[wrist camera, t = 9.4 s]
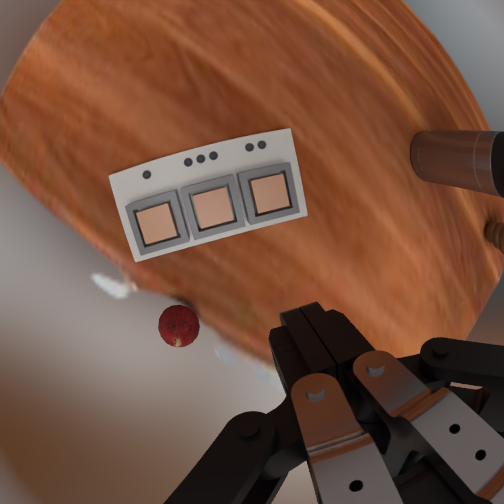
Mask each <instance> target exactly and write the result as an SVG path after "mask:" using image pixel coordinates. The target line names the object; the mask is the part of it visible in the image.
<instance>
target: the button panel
mask: <svg viewBox="0 0 504 504" xmlns="http://www.w3.org/2000/svg"><path fill="white" fill-rule="evenodd" d="M277 173H281V174H283V175H284V180H285V185H286V190H287V195H288V200H289V205H290V206H286V207H282V208H278V209H274V210H270V211H266V212H262V213H257V212H256V211H255V208H254V204H253V199H252V195H251V191H250V186H249V182H248V180H251V179H255V178H260V177H264V176H268V175H273V174H277ZM109 179H110V183H111V187H112V190H113V194H114V198H115V201H116V205H117V208H118V211H119V215H120V218H121V221H122V224H123V227H124V231H125V234H126V237H127V240H128V243H129V246H130V248H131V251H132V254H133V257H134V260H135V262H138V261H142V260H145V259H149V258H152V257H156V256H159V255H163V254H166V253H170V252H173V251H177V250H180V249H184V248H188V247H191V246H195V245H198V244H202V243H206V242H209V241H213V240H217V239H220V238H224V237H228V236H231V235H235V234H239V233H243V232H246V231H250V230H254V229H258V228H261V227H265V226H269V225H273V224H277V223H281V222H284V221H288V220H292V219H296V218H300V217H304V216H308V214H307V209H306V203H305V198H304V192H303V187H302V182H301V177H300V172H299V167H298V162H297V157H296V152H295V147H294V143H293V138H292V134H291V129H290V128H288V129H282V130H276V131H271V132H265V133H260V134H255V135H250V136H245V137H240V138H236V139H231V140H227V141H222V142H218V143H214V144H210V145H206V146H202V147H198V148H194V149H191V150H187V151H183V152H180V153H176V154H173V155H169V156H166V157H163V158H159V159H156V160H153V161H150V162H147V163H144V164H141V165H138V166H135V167H132V168H129V169H126V170H123V171H120V172H118V173H115V174H112V175H109ZM223 186H225V187H226V190H227V194H228V198H229V202H230V206H231V210H232V214H233V218H234V220H231V221H228V222H224V223H220V224H217V225H213V226H209V227H206V228H202V229H201V226H200V223H199V219H198V215H197V212H196V208H195V204H194V201H193V197H192V196H193V194H196V193H200V192H204V191H207V190H211V189H215V188H219V187H223ZM168 201H170V205H171V208H172V212H173V215H174V219H175V222H176V226H177V229H178V234H177V236H174V237H170V238H167V239H163V240H160V241H156V242H153V243H150V244H146V243H145V240H144V237H143V233H142V230H141V227H140V224H139V221H138V217H137V214H136V213H137V212H138V211H139V210H142V209H145V208H149V207H152V206H155V205H158V204H162V203H165V202H168Z"/></svg>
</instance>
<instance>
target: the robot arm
mask: <svg viewBox="0 0 504 504" xmlns="http://www.w3.org/2000/svg"><path fill="white" fill-rule="evenodd" d="M411 162H412V165H413V168H414V170H415V172H416V174H417V175H418V176H419V177H420V178H421V179H422V180H424V181H427V182H433V183H438V184H443V185H449V186H454V187H459V188H463V189H468V190H473V191H477V192H482V193H486V194H490V195H495V196H499V197H502V198H504V132H500V131H468V130H450V131H422V132H420V133H418V134H417V135H416V136H415V138H414V139H413V142H412V145H411ZM280 320H281V325H282V326H280V327H277V328H274V329H271V331H270V335H269V343H270V347H271V351H272V355H273V359H274V363H275V367H276V370H277V372H278V375H279V377H280V380H281V383H282V385H283V388H284V390H285V393H286V398H285V399H284V401H283V402H282V403H281V404H280V405H279V406H278V407H277V408H275V409H274V410H272V411H270V412H269V413H267V414H265V413H262V412H257V411H250V412H244V413H241V414H239V415H237V416H235V417H234V418H232V419H231V420H230V421H229V422H228V423H227V424H226V426H225V427H224V429H223V430H222V431H221V433H220V434H219V435H218V437H217V438H216V439H215V441H214V442H213V443H212V445H211V446H210V447H209V449H208V450H207V451H206V452H205V454H204V455H203V456H202V458H201V459H200V460H199V461H198V463H197V464H196V465H195V467H194V468H193V469H192V470H191V471H190V473H189V474H188V475H187V477H186V478H185V479H184V480H183V481H182V482H181V484H180V485H179V486H178V487H177V488H176V490H175V491H174V492H173V493H172V494H171V495H170V496H169V498H168V499H167V500H166V501H165V502H164V503H163V504H271V503H272V501H273V499H274V498H275V496H276V494H277V493H278V491H279V489H280V487H281V486H282V484H283V482H284V480H285V478H286V477H287V475H288V472H289V471H290V470H292V469H294V468H295V467H297V466H298V465H300V464H301V463H303V462H304V461H307V465H308V468H309V472H310V476H311V479H312V482H313V486H314V490H315V495H316V498H317V502H318V504H504V346H501V345H493V344H485V343H478V342H470V341H463V340H456V339H450V338H443V337H437V338H432V339H430V340H428V341H426V342H425V343H424V344H423V345H422V347H421V351H420V354H416V355H412V356H407V357H402V358H395V357H394V356H393V355H391V354H390V353H388V352H385V351H379V350H375V349H374V348H373V346H372V345H371V344H370V343H369V342H368V341H367V340H366V339H365V337H364V336H363V335H362V334H361V333H360V332H359V331H358V330H357V329H356V328H355V326H354V325H353V324H352V323H350V321H349V320H348V318H347V317H346V316H345V315H344V314H343V313H340V312H338V311H336V310H334V309H332V310H329V311H326V312H325V310H324V309H323V308H322V307H321V306H320V304H319V303H318V302H314V303H311V304H307V305H304V306H301V307H299V308H295V309H292V310H289V311H285V312H282V313H280ZM451 382H455V383H461V384H468V385H474V386H482V388H481V389H477V390H474V389H467V388H461V387H455V386H450V384H451ZM499 431H500V432H499Z"/></svg>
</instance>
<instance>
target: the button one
mask: <svg viewBox="0 0 504 504" xmlns="http://www.w3.org/2000/svg"><path fill="white" fill-rule="evenodd" d="M136 214H137V217H138V221H139V224H140V227H141V230H142V233H143V237H144V240H145V243H146V244H150V243H153V242H156V241H160V240H163V239H167V238H170V237H174V236H177V234H178V229H177V226H176V222H175V219H174V215H173V212H172V208H171V205H170V201H168V202H165V203H162V204H158V205H155V206H152V207H149V208H145V209H142V210H139V211H138V212H137V213H136Z"/></svg>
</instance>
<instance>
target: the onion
mask: <svg viewBox="0 0 504 504" xmlns="http://www.w3.org/2000/svg"><path fill="white" fill-rule="evenodd" d="M199 328H200V325H199V321H198V317H197V316H196V314H195V313H194V312H193V311H192V310H191V309H189V308H188V307H186V306H182V305H173V306H170V307H169V308H167V309H165V310H164V312H163V313H162V315H161V316H160V318H159V326H158V329H159V332H160V334H161V337H162V338H163V340H164V341H165V342H166V343H167V344H169V345H171V346H174V347H185V346H187V345H189V344H191V343H192V342H193V341H194V340H195V339H196V338H197V336H198V332H199Z"/></svg>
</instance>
